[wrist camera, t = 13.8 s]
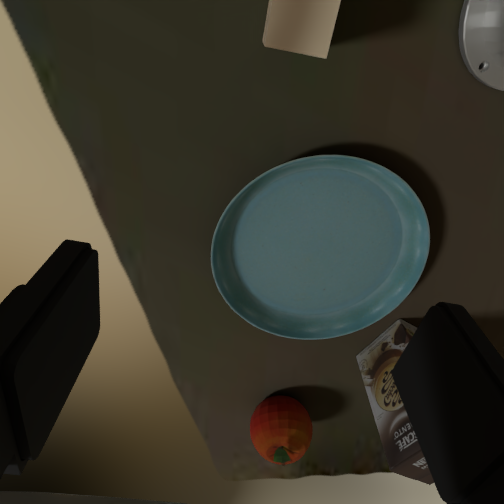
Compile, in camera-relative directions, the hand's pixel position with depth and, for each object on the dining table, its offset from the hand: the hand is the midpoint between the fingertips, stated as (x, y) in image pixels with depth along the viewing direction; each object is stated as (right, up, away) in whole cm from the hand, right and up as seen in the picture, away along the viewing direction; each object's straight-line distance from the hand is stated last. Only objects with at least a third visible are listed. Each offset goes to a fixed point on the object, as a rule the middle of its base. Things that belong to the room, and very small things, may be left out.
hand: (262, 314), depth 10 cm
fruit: (+4, -23, +49) cm, 54 cm away
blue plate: (+7, +2, +33) cm, 34 cm away
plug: (+3, +22, +20) cm, 30 cm away
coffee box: (+20, -12, +41) cm, 47 cm away
